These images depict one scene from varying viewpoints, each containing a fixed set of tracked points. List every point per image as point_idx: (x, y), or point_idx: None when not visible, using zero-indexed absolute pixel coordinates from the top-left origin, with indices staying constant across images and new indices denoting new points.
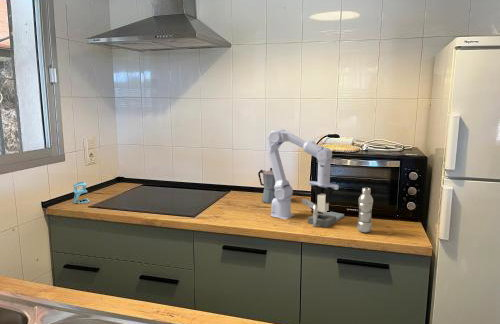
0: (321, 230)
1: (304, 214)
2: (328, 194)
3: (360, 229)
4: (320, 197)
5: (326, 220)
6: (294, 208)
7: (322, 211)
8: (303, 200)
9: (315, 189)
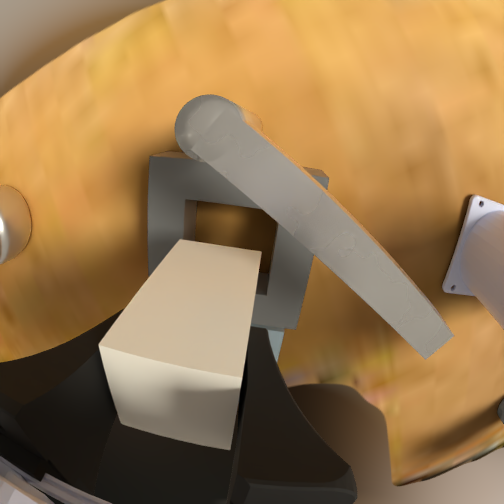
0: (182, 90)
1: (387, 338)
2: (35, 355)
3: (5, 187)
4: (189, 343)
5: (166, 188)
6: (441, 386)
7: (200, 245)
8: (437, 312)
9: (276, 464)
